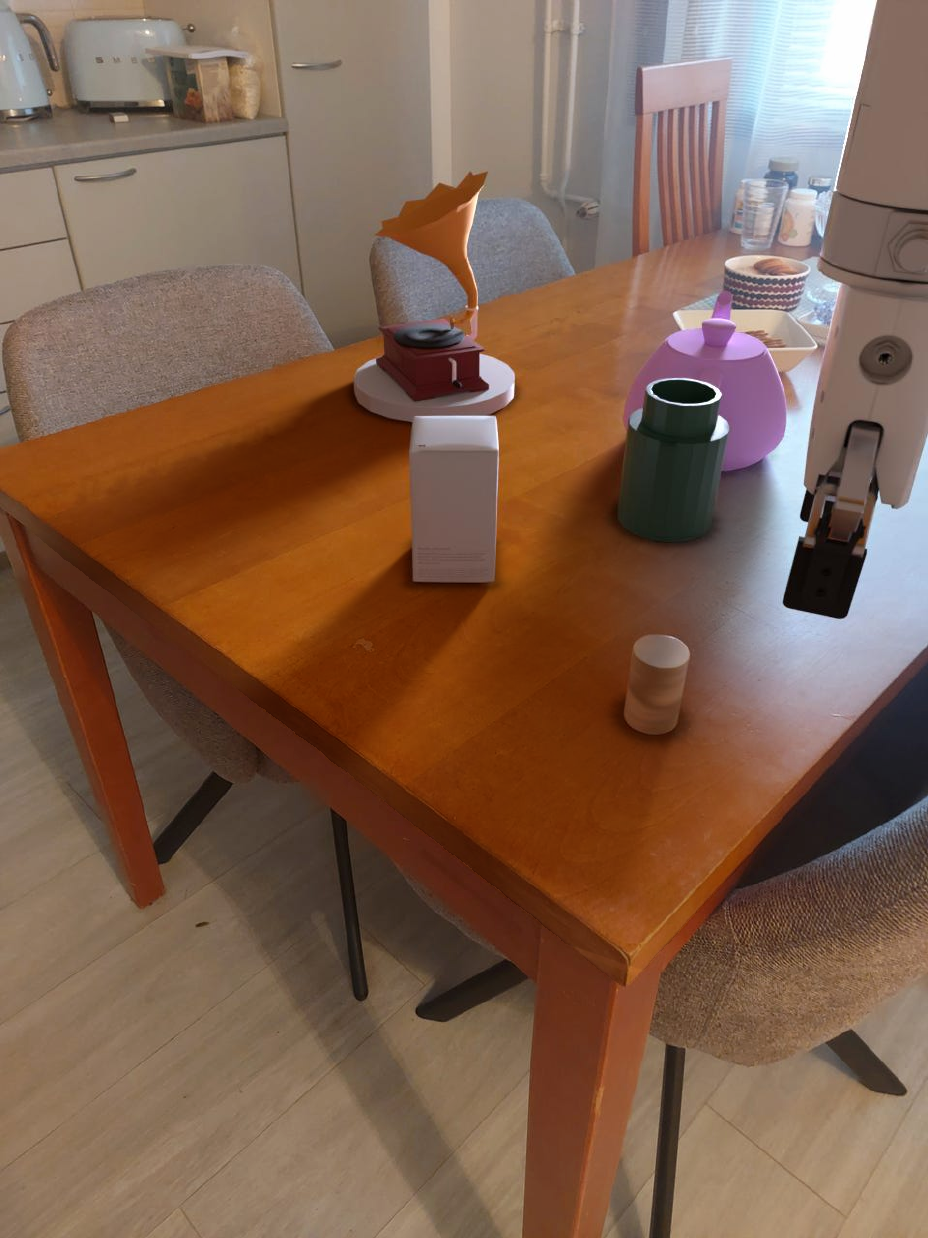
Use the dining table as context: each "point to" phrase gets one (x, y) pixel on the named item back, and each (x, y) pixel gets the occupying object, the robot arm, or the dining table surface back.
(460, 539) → the white packaging box
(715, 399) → the green bottle
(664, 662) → the stopper
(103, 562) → the dining table surface
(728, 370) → the teapot
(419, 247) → the gramophone
